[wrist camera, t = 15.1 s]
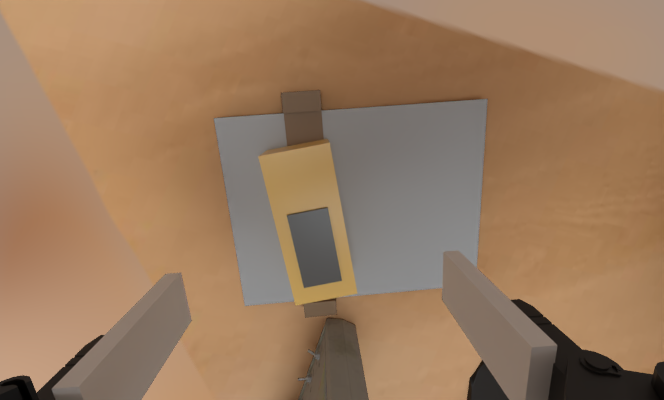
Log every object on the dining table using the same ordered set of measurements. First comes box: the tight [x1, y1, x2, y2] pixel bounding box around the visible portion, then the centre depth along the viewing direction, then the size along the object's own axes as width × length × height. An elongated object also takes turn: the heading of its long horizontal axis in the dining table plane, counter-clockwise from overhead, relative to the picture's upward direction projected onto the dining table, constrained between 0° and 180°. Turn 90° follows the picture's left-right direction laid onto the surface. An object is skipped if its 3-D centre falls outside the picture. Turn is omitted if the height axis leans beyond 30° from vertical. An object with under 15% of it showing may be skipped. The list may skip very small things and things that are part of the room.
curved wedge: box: [467, 360, 509, 400], centre depth 34 cm, size 8×14×2 cm, turn 1°
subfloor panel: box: [214, 90, 488, 318], centre depth 27 cm, size 22×20×2 cm
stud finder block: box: [258, 139, 358, 305], centre depth 24 cm, size 5×12×4 cm, turn 10°
